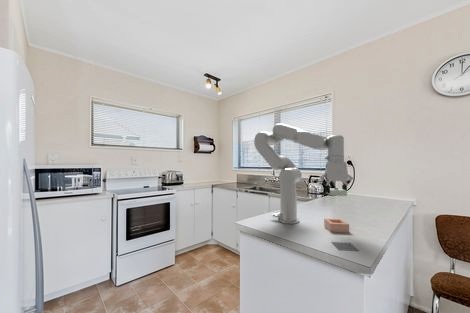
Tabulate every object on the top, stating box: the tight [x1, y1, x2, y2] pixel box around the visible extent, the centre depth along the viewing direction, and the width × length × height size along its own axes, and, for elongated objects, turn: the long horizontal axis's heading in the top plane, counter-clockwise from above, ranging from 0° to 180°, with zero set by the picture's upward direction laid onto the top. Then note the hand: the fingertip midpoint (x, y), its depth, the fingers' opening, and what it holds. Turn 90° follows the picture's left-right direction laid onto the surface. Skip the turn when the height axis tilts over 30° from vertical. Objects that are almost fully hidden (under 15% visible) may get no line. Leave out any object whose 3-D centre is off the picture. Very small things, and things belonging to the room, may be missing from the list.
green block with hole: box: [325, 187, 348, 197], centre depth 104 cm, size 8×8×3 cm
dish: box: [323, 218, 350, 234], centre depth 104 cm, size 9×9×4 cm
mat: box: [330, 241, 360, 252], centre depth 83 cm, size 8×8×1 cm
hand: (336, 192), depth 104 cm, fingers closed on green block with hole, 7 cm apart
